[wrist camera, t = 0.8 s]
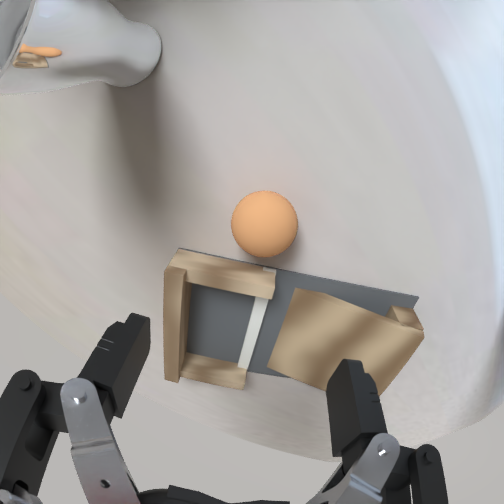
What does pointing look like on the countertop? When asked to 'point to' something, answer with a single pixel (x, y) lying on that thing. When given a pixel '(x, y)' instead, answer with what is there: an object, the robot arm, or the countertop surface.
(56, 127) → the countertop surface
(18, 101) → the countertop surface
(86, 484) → the robot arm
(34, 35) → the beer glass
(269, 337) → the mat
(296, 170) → the countertop surface
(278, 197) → the ball
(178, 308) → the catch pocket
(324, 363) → the ramp
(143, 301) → the countertop surface
